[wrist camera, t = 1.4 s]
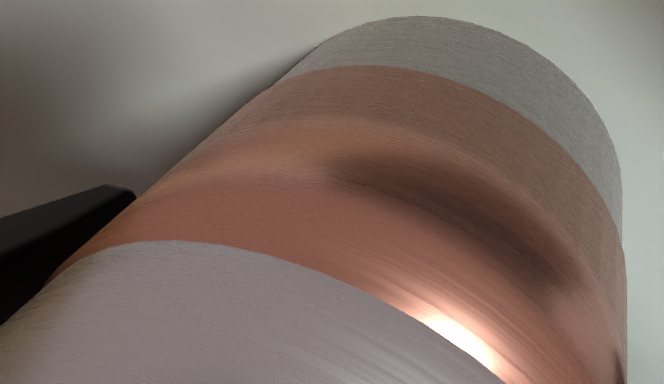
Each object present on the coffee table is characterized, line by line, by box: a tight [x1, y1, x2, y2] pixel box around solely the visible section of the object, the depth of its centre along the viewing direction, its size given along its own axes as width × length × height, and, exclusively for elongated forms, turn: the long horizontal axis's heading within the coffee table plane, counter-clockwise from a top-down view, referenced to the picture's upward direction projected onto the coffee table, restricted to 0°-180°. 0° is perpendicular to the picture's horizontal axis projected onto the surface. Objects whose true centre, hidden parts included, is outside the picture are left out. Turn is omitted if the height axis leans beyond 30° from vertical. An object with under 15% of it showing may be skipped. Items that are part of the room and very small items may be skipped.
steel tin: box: [0, 16, 627, 384], centre depth 7 cm, size 6×6×7 cm
